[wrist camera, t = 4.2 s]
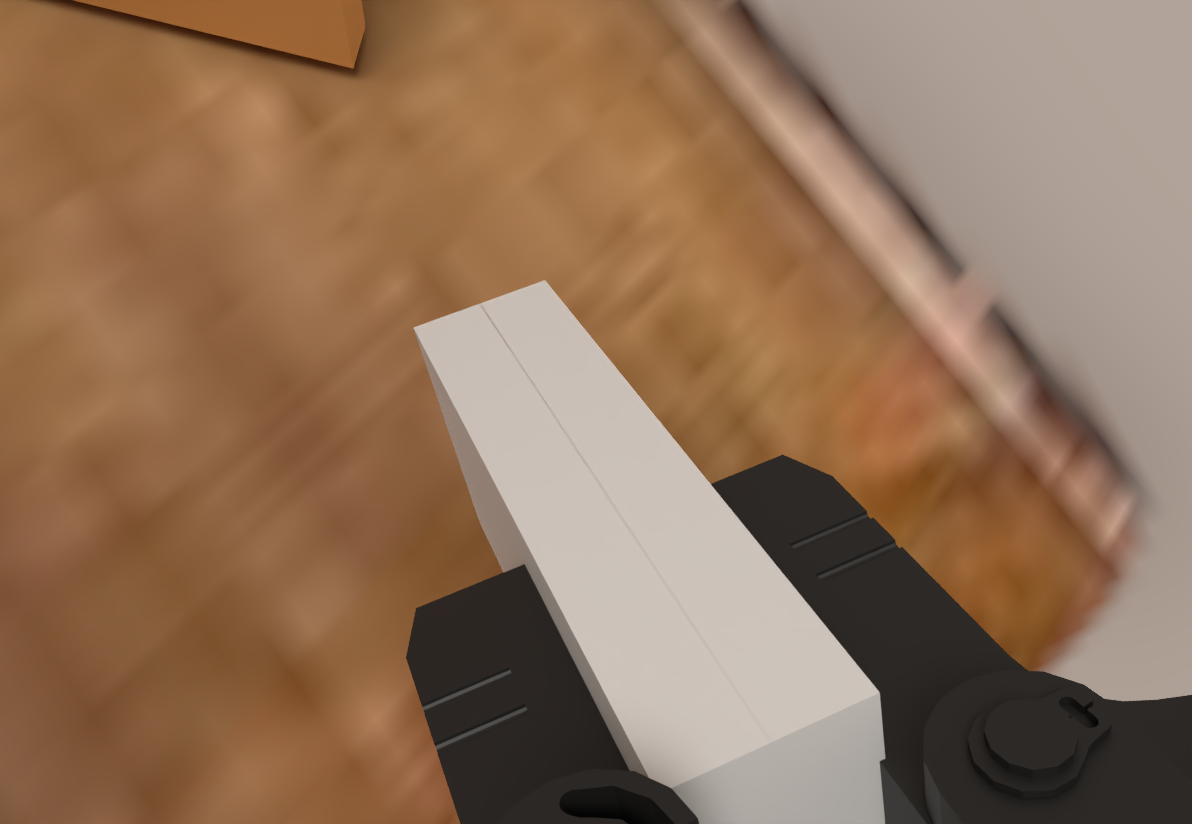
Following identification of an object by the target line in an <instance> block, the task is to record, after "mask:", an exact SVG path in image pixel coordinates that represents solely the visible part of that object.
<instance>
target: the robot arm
mask: <svg viewBox="0 0 1192 824" xmlns="http://www.w3.org/2000/svg"><path fill="white" fill-rule="evenodd" d="M414 331H415V334H416V337H417V340H418V343H419V346H420V349H421V352H422V355H423V358H424V361H425V364H426V366H427V369H428V372H429V375H430V378H431V381H432V384H433V387H434V390H435V393H436V396H437V399H438V402H439V405H440V408H441V411H442V414H443V416H444V419H445V422H446V425H447V428H448V431H449V434H450V437H451V440H452V443H453V446H454V449H455V452H456V455H457V458H458V461H459V464H460V466H461V469H462V472H463V475H464V478H465V481H466V484H467V487H468V490H469V493H470V496H471V499H472V502H473V505H474V508H475V511H476V514H477V517H478V519H479V522H480V524H481V526H482V529H483V531H484V533H485V535H486V537H487V539H488V541H489V543H490V545H491V547H492V550H493V552H494V554H495V556H496V558H497V560H498V562H499V564H500V566H501V568H502V570H503V573H501V574H499V575H497V576H494V577H492V578H489V579H487V580H484V581H482V582H479V583H477V584H475V585H472V586H470V587H467V588H465V589H462V590H460V591H457V592H455V593H452V594H450V595H448V596H445V597H443V598H440V599H438V600H435V601H433V602H430V603H428V604H426V605H423V606H421V607H418V608H416V612H415V617H414V622H413V627H412V632H411V637H410V641H409V646H408V651H407V656H406V659H407V662H408V665H409V668H410V671H411V674H412V677H413V680H414V683H415V686H416V689H417V692H418V695H419V698H420V701H421V704H422V707H423V709H424V712H425V717H426V720H427V723H428V726H429V729H430V732H431V735H432V738H433V741H434V744H435V746H436V749H437V752H438V756H439V759H440V762H441V765H442V768H443V771H444V774H445V778H446V781H447V784H448V787H449V790H450V793H451V796H452V799H453V802H454V805H455V808H456V811H457V814H458V817H459V820H460V823H461V824H1192V695H1188V696H1181V697H1173V698H1166V699H1160V700H1145V701H1116V700H1108V699H1103V698H1102V697H1101V696H1099V695H1098V694H1096V693H1095V692H1093V691H1092V690H1091V689H1089V688H1088V687H1086V686H1085V685H1083V684H1080V683H1077V682H1074V681H1071V680H1068V679H1065V678H1061V677H1058V676H1055V675H1052V674H1049V673H1046V672H1038V671H1028V670H1026V669H1025V668H1024V667H1023V666H1021V665H1020V664H1019V663H1018V662H1016V661H1015V660H1014V659H1013V658H1011V657H1010V656H1009V655H1008V654H1007V653H1006V652H1005V651H1004V650H1003V649H1002V648H1001V647H1000V646H999V645H998V644H997V643H996V642H995V641H994V640H993V639H992V638H991V637H990V636H989V635H988V634H987V633H986V632H985V631H984V630H983V629H982V628H981V627H980V626H979V625H978V624H977V623H976V622H975V620H974V619H973V618H972V617H971V616H970V615H969V614H968V613H967V612H966V611H965V610H964V609H963V608H962V607H961V606H960V605H959V604H958V603H957V602H956V601H955V600H954V599H953V598H952V597H951V596H950V595H949V594H948V593H947V592H946V591H945V590H944V589H943V588H942V587H941V586H940V585H939V584H938V583H937V582H936V581H935V580H934V579H933V578H932V577H931V576H930V575H929V574H928V573H927V572H926V571H925V570H924V569H923V568H922V567H921V566H920V565H919V564H918V563H917V562H916V561H915V560H914V559H913V558H912V557H911V556H910V555H909V554H908V553H907V552H906V551H905V550H904V548H903V547H901V548H898V546H897V545H896V543H895V539H894V538H893V537H892V536H891V535H890V534H889V533H888V532H887V531H886V530H885V529H884V528H883V527H882V526H881V525H880V524H879V523H878V522H877V521H876V520H875V519H874V518H872V519H870V518H869V517H868V515H867V511H866V510H865V509H864V508H863V507H862V506H861V505H860V504H859V503H858V502H857V501H856V500H855V499H854V498H853V497H852V496H851V495H850V494H849V493H848V492H847V491H846V490H845V489H844V488H843V487H842V486H841V485H840V484H839V483H838V482H837V481H836V480H835V478H834V477H833V476H830V475H828V474H826V473H824V472H821V471H819V470H817V469H814V468H812V467H810V466H807V465H805V464H803V463H801V462H798V461H796V460H794V459H791V458H789V457H787V456H784V455H781V456H779V457H776V458H774V459H771V460H769V461H766V462H764V463H761V464H759V465H756V466H754V467H752V468H749V469H747V470H744V471H742V472H739V473H737V474H734V475H732V476H729V477H727V478H725V479H722V480H720V481H717V482H715V483H712V484H710V483H709V482H708V480H707V479H706V478H705V477H704V476H703V474H702V473H701V472H700V471H699V469H698V468H697V467H696V466H695V464H694V463H693V462H692V461H691V460H690V458H689V457H688V456H687V455H686V453H685V452H684V451H683V450H682V448H681V447H680V446H679V445H678V444H677V442H676V441H675V440H674V439H673V437H672V436H671V435H670V434H669V432H668V431H667V430H666V429H665V428H664V426H663V425H662V424H661V423H660V421H659V420H658V419H657V418H656V416H655V415H654V414H653V413H652V411H651V410H650V409H649V408H648V407H647V405H646V404H645V403H644V402H643V400H642V399H641V398H640V397H639V395H638V394H637V393H636V392H635V391H634V389H633V388H632V387H631V386H630V384H629V383H628V382H627V381H626V379H625V378H624V377H623V376H622V375H621V373H620V372H619V371H618V370H617V368H616V367H615V366H614V365H613V363H612V362H611V361H610V360H609V359H608V357H607V356H606V355H605V354H604V352H603V351H602V350H601V349H600V347H599V346H598V345H597V344H596V343H595V341H594V340H593V339H592V338H591V336H590V335H589V334H588V333H587V331H586V330H585V329H584V328H583V327H582V325H581V324H580V323H579V322H578V320H577V319H576V318H575V317H574V315H573V314H572V313H571V312H570V311H569V309H568V308H567V307H566V306H565V304H564V303H563V302H562V301H561V299H560V298H559V297H558V296H557V295H556V293H555V292H554V291H553V290H552V288H551V287H550V286H549V285H548V283H547V282H546V281H545V280H544V281H541V282H539V283H536V284H533V285H530V286H528V287H525V288H522V289H519V290H517V291H514V292H511V293H508V294H505V295H503V296H500V297H497V298H494V299H492V300H489V301H486V302H483V303H480V304H478V305H475V306H472V307H469V308H467V309H464V310H461V311H458V312H455V313H453V314H450V315H447V316H444V317H442V318H439V319H436V320H433V321H430V322H428V323H425V324H422V325H419V326H417V327H414Z"/></svg>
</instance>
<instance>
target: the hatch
mask: <svg viewBox="0 0 1192 824" xmlns="http://www.w3.org/2000/svg"><path fill="white" fill-rule="evenodd" d="M74 1H78V2H82V3H86V4H90V5H94V6H98V7H103V8H107V9H111V10H115V11H119V12H123V13H127V14H131V15H135V16H140V17H144V18H148V19H152V20H156V21H160V22H164V23H168V24H172V25H176V26H181V27H185V28H189V29H193V30H197V31H201V32H205V33H209V34H213V35H217V36H222V37H226V38H230V39H234V40H238V41H242V42H246V43H250V44H254V45H259V46H263V47H267V48H271V49H275V50H279V51H283V52H287V53H291V54H295V55H300V56H304V57H308V58H312V59H316V60H320V61H324V62H328V63H332V64H336V65H341V66H345V67H349V68H354V64H355V61H356V58H357V54H358V51H359V47H360V44H361V40H362V37H363V34H364V30H365V27H366V25H365V19H364V12H363V5H362V0H74Z"/></svg>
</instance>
